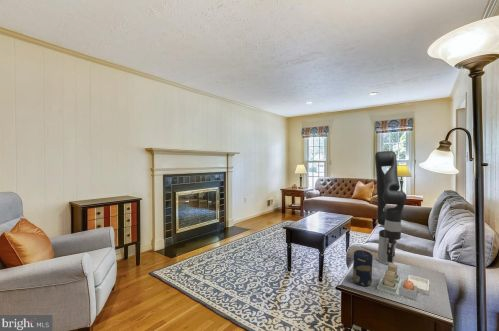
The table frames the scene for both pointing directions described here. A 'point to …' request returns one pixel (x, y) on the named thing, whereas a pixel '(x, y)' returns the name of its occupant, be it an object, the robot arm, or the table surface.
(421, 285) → the pale shallow tray
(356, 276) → the canister
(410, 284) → the button
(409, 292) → the console
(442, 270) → the table surface
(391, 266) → the billet
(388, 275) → the billet
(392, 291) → the board
